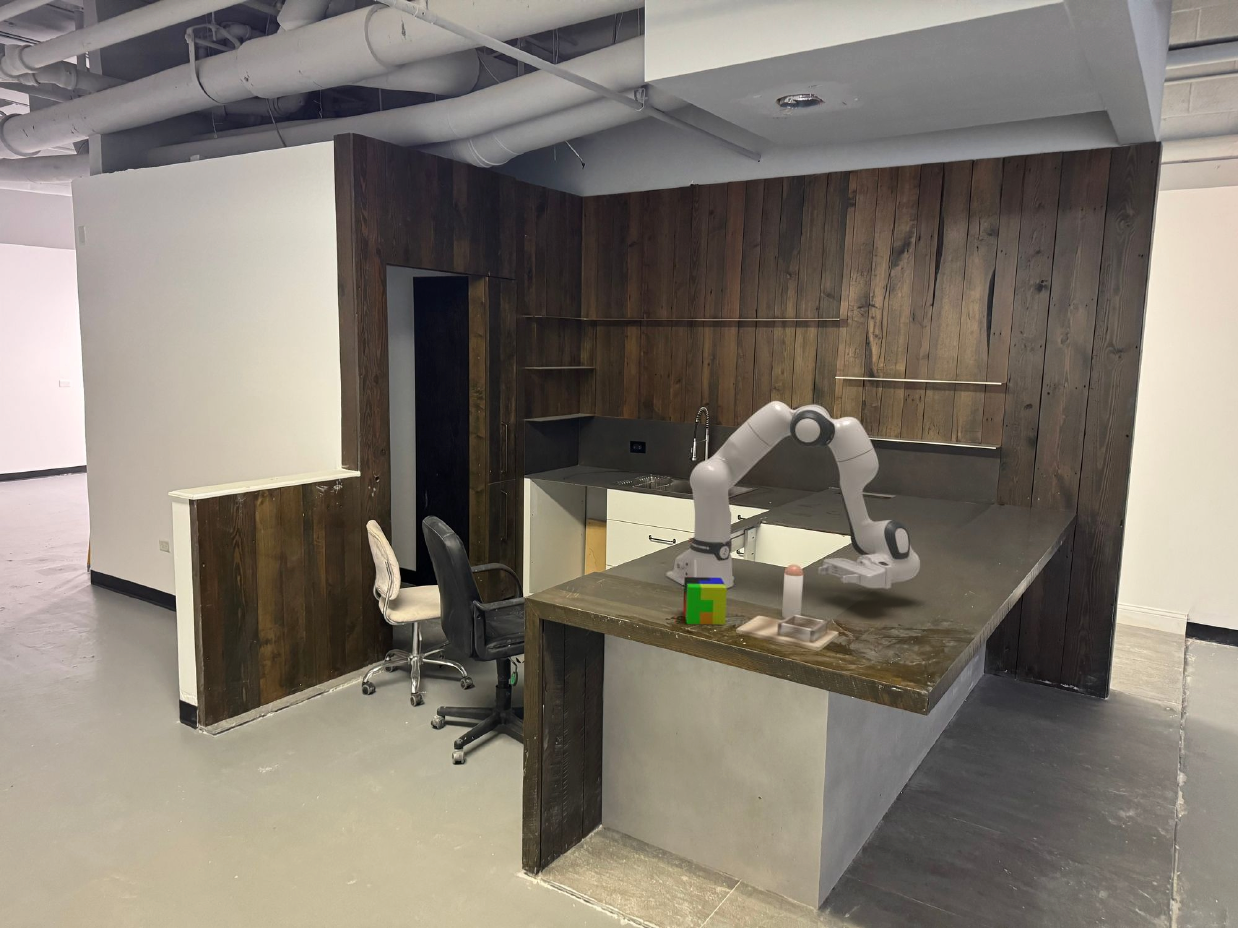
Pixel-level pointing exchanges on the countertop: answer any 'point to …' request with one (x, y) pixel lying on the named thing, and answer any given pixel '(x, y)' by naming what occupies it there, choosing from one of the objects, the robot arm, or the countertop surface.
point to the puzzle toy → (704, 600)
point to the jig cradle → (790, 631)
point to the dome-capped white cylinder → (792, 591)
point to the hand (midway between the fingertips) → (830, 574)
